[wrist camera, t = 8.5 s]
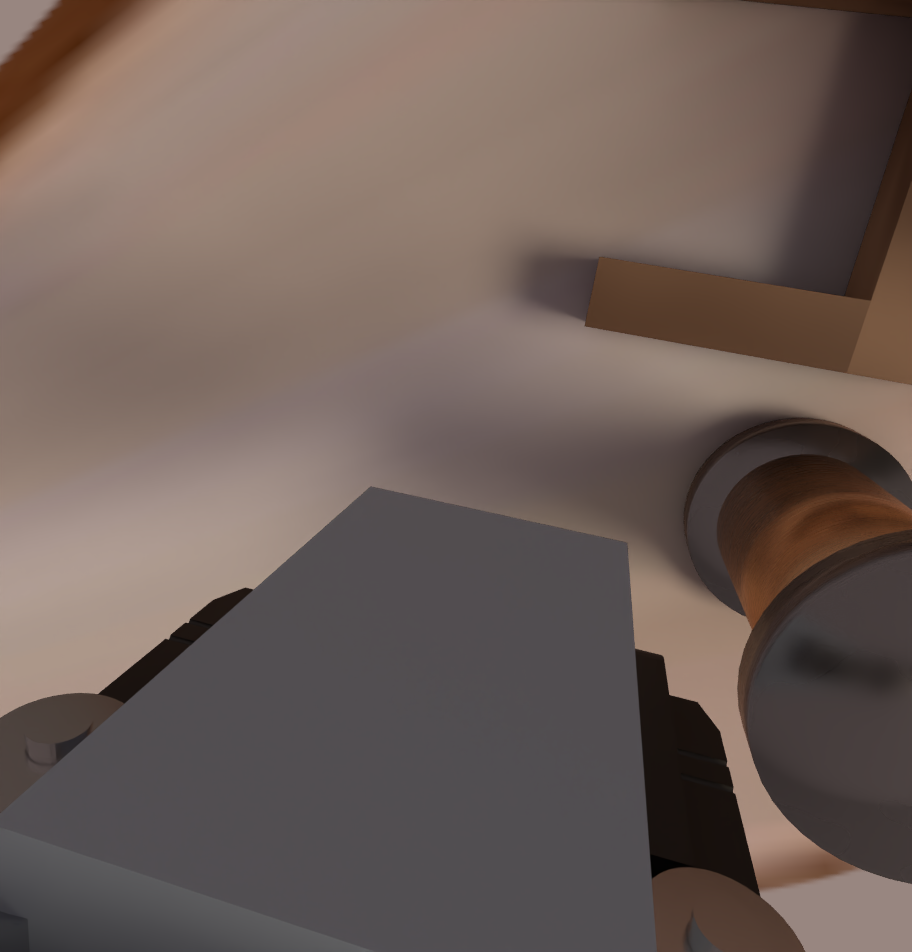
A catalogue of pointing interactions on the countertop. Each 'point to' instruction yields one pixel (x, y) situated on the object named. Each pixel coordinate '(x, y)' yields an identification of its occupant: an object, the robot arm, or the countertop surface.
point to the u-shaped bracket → (782, 308)
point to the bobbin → (819, 626)
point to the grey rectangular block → (366, 760)
